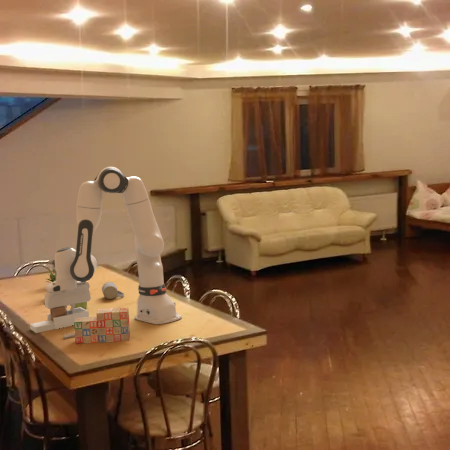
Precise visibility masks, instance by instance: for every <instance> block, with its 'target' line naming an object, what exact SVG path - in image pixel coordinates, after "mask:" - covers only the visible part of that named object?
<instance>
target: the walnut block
mask: <svg viewBox="0 0 450 450" xmlns="http://www.w3.org/2000/svg"><path fill="white" fill-rule="evenodd" d="M49 312H50V313H49V314H51V320H52V321H53V322H54V319H53V318H55V317H60V316H65V315H66V312H65V307H64V306H62V307H57V308H52V309H49Z"/></svg>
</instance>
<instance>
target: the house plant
mask: <svg viewBox="0 0 450 450" xmlns="http://www.w3.org/2000/svg"><path fill="white" fill-rule="evenodd" d="M53 268H54V267H53V266H52V269H53ZM47 271H48V273H49V278H46V280H47V281H46V282H45V283H49V284H51V283H52V282H54V281H56V278H55V275H57V274H56V271H55V270H54V271H55V275H53V271H51V270H49V269H47ZM48 273H47V272H46V273H45V274H47V275H48Z"/></svg>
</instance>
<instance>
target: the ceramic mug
mask: <svg viewBox="0 0 450 450" xmlns="http://www.w3.org/2000/svg"><path fill="white" fill-rule="evenodd" d="M101 291H102V294H103V296H104V298H106V299H107V300H113V299H115V298H116V297H119V298H124V296H125V294H124V292H122V291H121V290H118V287H117V285H116V283H114V282H113V281H107V282H105V283H103V285H102V286H101Z"/></svg>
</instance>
